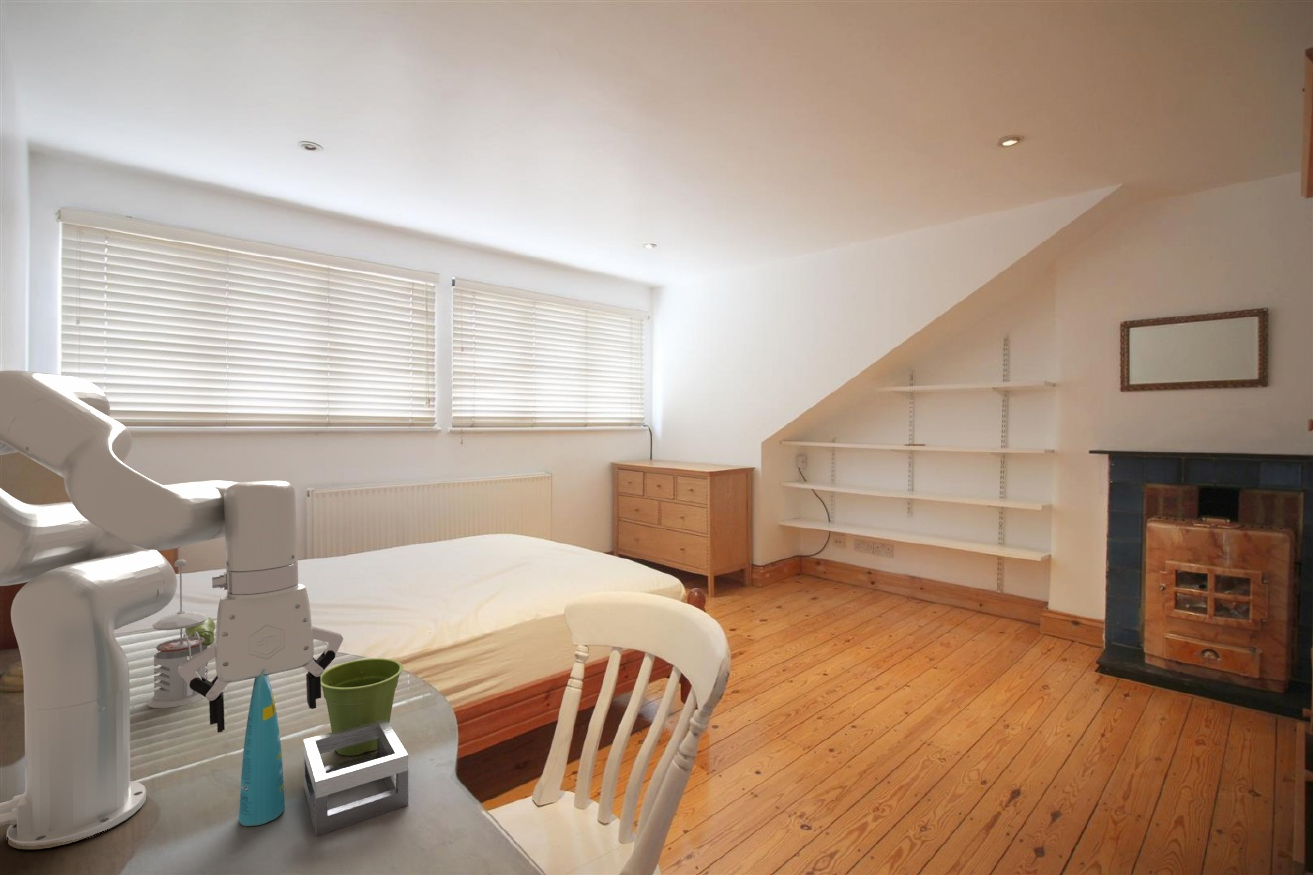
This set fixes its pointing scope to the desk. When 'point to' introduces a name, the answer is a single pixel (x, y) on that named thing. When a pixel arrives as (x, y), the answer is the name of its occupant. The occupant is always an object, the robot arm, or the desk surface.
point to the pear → (203, 631)
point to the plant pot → (360, 696)
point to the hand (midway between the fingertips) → (267, 716)
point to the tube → (261, 760)
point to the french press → (177, 657)
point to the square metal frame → (354, 775)
